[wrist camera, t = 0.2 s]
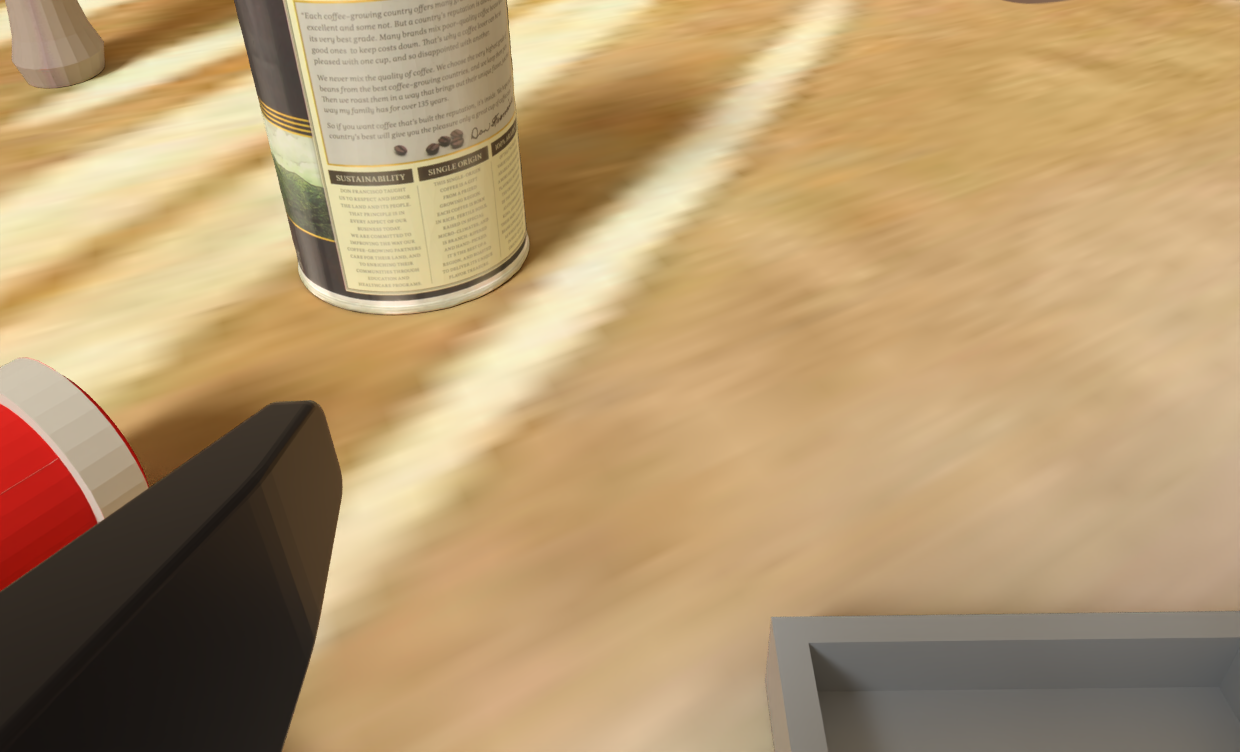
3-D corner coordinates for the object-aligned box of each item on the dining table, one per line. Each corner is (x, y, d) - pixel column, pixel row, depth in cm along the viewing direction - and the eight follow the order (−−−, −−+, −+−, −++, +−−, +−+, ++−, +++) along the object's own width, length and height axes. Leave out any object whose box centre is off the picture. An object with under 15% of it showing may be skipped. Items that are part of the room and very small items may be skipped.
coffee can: (247, 290, 43) (148, -61, 35) (383, 189, 51) (328, -119, 42) (457, 339, 40) (403, -37, 32) (569, 222, 47) (550, -105, 39)
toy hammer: (643, 822, 24) (640, 646, 20) (254, 1421, 16) (131, 1314, 12) (62, 485, 34) (-12, 326, 30) (-352, 749, 26) (-521, 578, 22)
